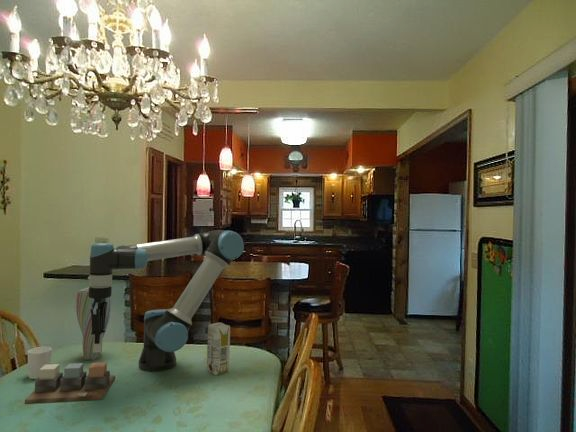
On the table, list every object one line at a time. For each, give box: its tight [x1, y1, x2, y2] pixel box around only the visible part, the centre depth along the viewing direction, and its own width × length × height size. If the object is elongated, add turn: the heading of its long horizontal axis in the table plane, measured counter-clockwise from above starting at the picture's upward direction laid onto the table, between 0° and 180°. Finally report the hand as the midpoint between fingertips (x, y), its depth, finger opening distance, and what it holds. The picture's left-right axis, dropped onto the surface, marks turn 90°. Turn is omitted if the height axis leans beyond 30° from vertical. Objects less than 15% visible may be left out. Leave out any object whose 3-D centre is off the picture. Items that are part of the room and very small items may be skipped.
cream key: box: [39, 363, 60, 380], centre depth 142 cm, size 5×5×5 cm
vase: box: [75, 286, 112, 361], centre depth 177 cm, size 14×14×30 cm
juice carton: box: [206, 322, 231, 376], centre depth 165 cm, size 8×9×19 cm
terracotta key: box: [88, 361, 108, 378], centre depth 145 cm, size 5×5×5 cm
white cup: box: [27, 346, 52, 380], centre depth 155 cm, size 8×8×10 cm
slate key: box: [63, 362, 84, 379], centre depth 144 cm, size 5×5×5 cm
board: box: [24, 370, 116, 404], centre depth 144 cm, size 24×18×5 cm
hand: (97, 351), depth 145 cm, fingers closed
